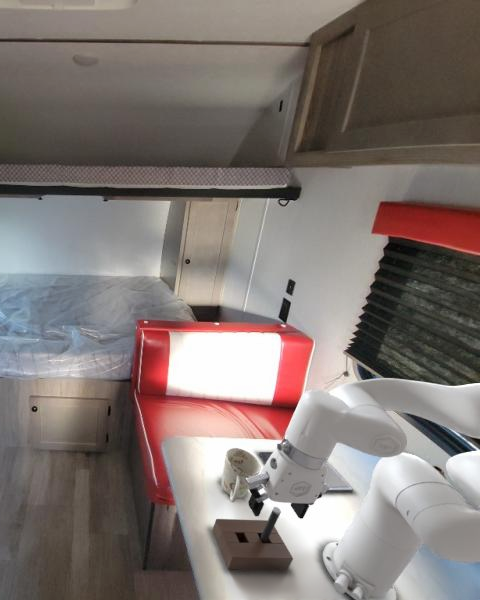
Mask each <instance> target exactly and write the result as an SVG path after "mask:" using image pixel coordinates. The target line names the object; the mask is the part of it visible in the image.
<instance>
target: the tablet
mask: <svg viewBox="0 0 480 600" xmlns="http://www.w3.org/2000/svg"><path fill="white" fill-rule="evenodd" d="M273 452H274V451H259V452H258V455H259V456H260V458H262V460H263V462H264V463H265V464H266V462H267V461H268V459H269V457H270V456H271V454H272V453H273ZM327 464H328V468H327V475H326V478H325V481H324V482H325V483H326V484H327V485H328V487H329V490H328V491H326V492H327V493H340V492H341V493H347V492H348V493H349V492H351V493H352V492H354V488H352V486H351V485H349V483H348V482H347V481H346V480H345V479H344V478H343V477H342V476H341V475H340V474H339V473H338V472H337V471H336V470H335V468H334V467H333V466H332V465H331V464H330V463H329V462H328V461H327ZM326 492H325V493H326Z"/></svg>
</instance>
